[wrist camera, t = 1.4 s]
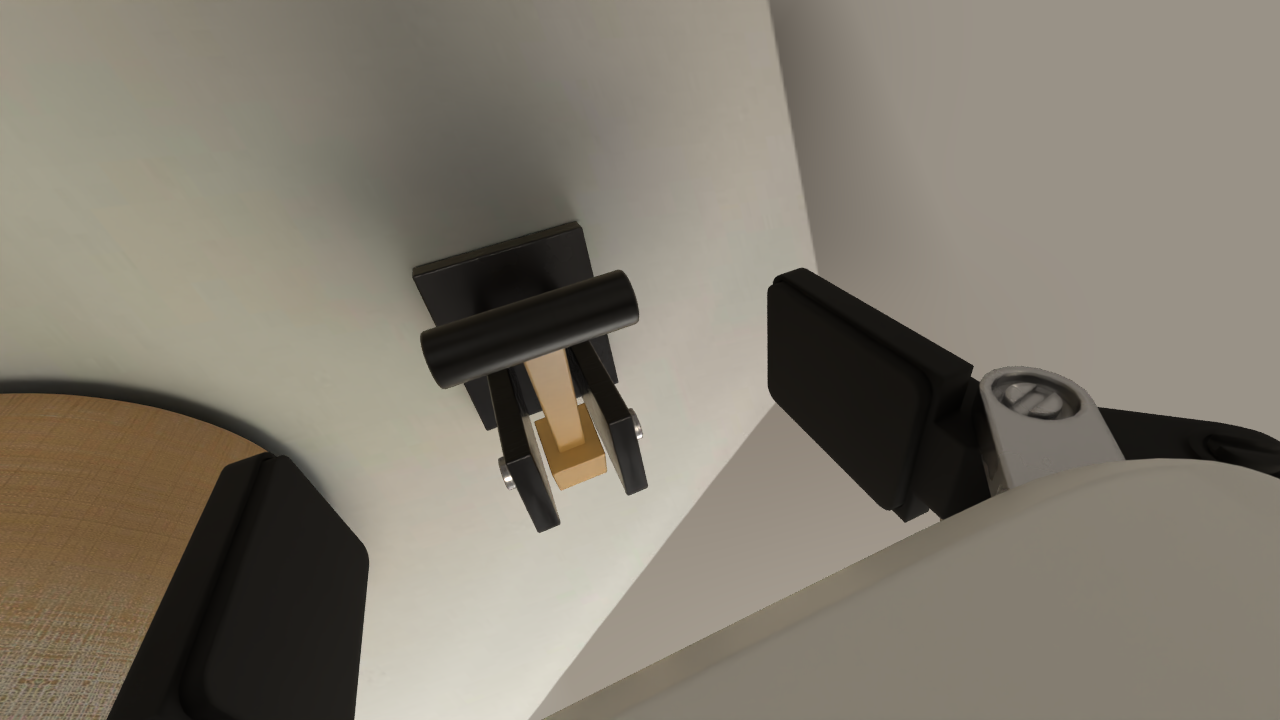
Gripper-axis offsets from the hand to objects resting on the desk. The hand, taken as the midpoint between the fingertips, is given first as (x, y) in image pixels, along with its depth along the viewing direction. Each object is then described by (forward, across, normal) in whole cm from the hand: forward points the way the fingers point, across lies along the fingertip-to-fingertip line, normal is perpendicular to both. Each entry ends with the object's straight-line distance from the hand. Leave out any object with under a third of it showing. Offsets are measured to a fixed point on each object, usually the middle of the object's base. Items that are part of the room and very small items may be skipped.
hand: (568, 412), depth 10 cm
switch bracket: (+19, 0, +8) cm, 21 cm away
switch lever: (+7, 0, +4) cm, 8 cm away
